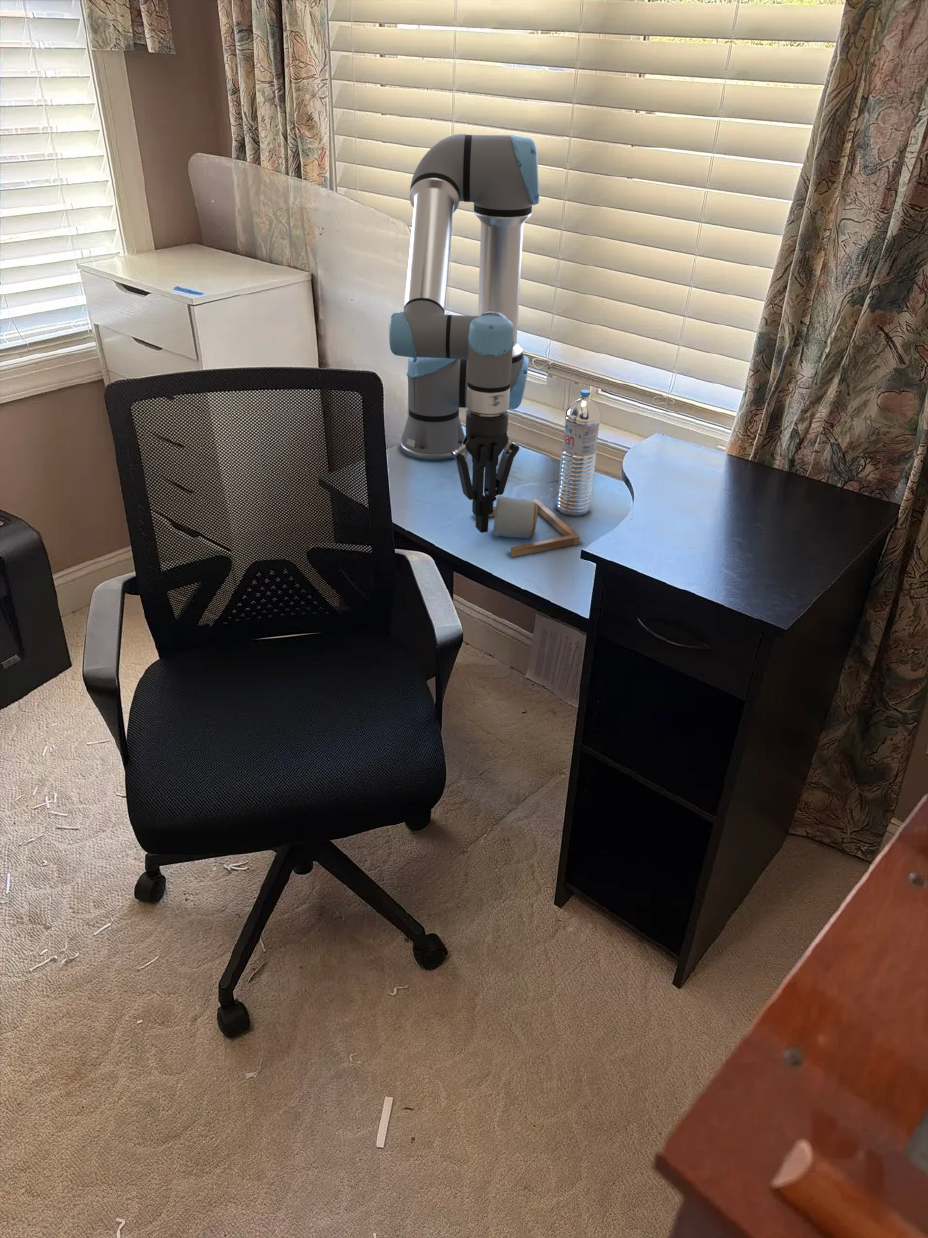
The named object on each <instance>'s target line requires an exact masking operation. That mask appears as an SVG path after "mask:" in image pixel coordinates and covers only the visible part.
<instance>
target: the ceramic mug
mask: <svg viewBox="0 0 928 1238" xmlns="http://www.w3.org/2000/svg"><path fill="white" fill-rule="evenodd" d="M496 498H497V499H496V501H495V502H496V503H495V506H496V510H495V516H494V519H493V520H494V521H493V528H492V529H493V530H492V536H495V537H505V538H519V539H531V538H533V537H534V536H535V534H536V528H537V521H538V514H539V513H538V505H537V504H536V503H535V502H532V501H529V500H530V499H521V498H516V497H515V498H514V497H509V496H503V495H497V496H496Z"/></svg>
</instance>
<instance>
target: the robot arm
mask: <svg viewBox="0 0 928 1238" xmlns="http://www.w3.org/2000/svg"><path fill="white" fill-rule="evenodd" d="M538 161H539V160H538V147H537V143H536V142H535V140H534V139H533V138H531V137H527V136H519V135H514V134H466V133H459V134H458V133H457V134H453V135H450V136H447V137H445V138H443V139H441V140H439V141H438V142H436V143H435V144H434V145H433V146H431V148H430V149H429V150H428V151H427V152H426V153H425V154H424V155H423V157H422V158H421V159H420V161H419V163H418V164H417V166H416V168H415V171H414V172H413V176H412V178H411V183H410V188H409V202H410V205H411V207H412V208H413V212H412V221H411V231H410V241H409V242H410V243H409V250H408V251H409V252H408V259H407V260H408V261H407V271H406V279H405V280H406V281H405V291H404V301H403V311H400V312H393V313H392V314H391V315H390V319H389V324H388V325H389V326H388V341H389V349H390V351H391V353H392V354H393V355H395V356H397V357H398V356H399V357H405V358H408V359H407V372H406V377H407V412H408V414H407V420H406V423H405V426H404V429H403V432H402V435H401V439H400V449H401V451H402V453H404V454H405V455H406V456H408V457H410V458H413V459H415V460H416V459H417V460H421V461H431V462H437V461H439V462H441V461H449V460H452V459H454V460H455V463H456V466H457V471H458V477H459V480H460V486H461V490H462V494H463V495H464V496H465V497H466V498H467V499H468V500H469V501H472V506H471V512H472V514H473V515H474V517H475V516H476V518H475V526H474V527H475V528H476V529H477V530H478V531H479V533H481V534H484V533H489V521H490V520H489V518H490V517H489V514H492V512H493V507H494V502H496V501H497V497H498V496H503V494H504V493H505V489H506V486H507V482H508V479H509V476H510V472H511V469H512V466H513V462H514V459H515V457H516V456H517V454H518V453H519V451H520V446H519V445H518V444H517V443H516V442H515V441H513V440H510V438H509V435H508V433H507V432H508V429H509V414H510V413H509V412H508V411H509V410H516V409H518V408H519V407H520V406H521V404H522V401H523V398H524V393H525V389H526V383H527V377H528V372H529V365H530V359H529V357H528V356H526V355H523V354H524V349H523V347H522V345H521V344H520V343H519V342H518V340H517V339H518V323H519V309H520V308H519V305H520V288H521V271H522V258H523V257H522V256H523V238H524V237H523V236H524V224H525V222H526V221H527V220H528V219H529V218H530V217H531V216H532V213H533V206H537V205H539V204H540V183H539V180H540V179H539V163H538ZM460 202H463V203H473V214H474V215H475V216H476V217H477V218H478V220H479V222H480V237H479V238H480V239H479V272H478V303H477V304H478V305H477V309H478V310H477V315H465V314H464V315H462V314H461V315H459V314H446V303H447V302H446V301H447V290H448V278H449V266H450V255H451V254H450V253H451V242H452V231H453V218H454V213H455V212H456V211H457V209H458V208H459V206H460ZM461 408H465V409H467V410H466V411H465V412H466V413H465V432H464V429H463V426H462V423H461V420H460V409H461ZM467 452H468V454H469V455H470V456H471V462H472V474H470V470H469V465H468V462H467V459H468V454H467ZM500 455H501V457H500ZM499 457H500V460H499ZM471 475H472V476H471ZM471 478H472V480H471Z"/></svg>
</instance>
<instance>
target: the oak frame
mask: <svg viewBox="0 0 928 1238" xmlns="http://www.w3.org/2000/svg"><path fill="white" fill-rule="evenodd" d="M528 500H529V501H532V502H535V503H536V504H537V505H538V513H537V514H538V515H540V516H541V517H542V518H544V519H545V520H546V521H547V523H549V524H550V525H551V526H552V527H553V528H554V529H555V530H557V532H558V533H560V534H561V535H562V536H559V537H554V538H549V539H544V540H539V541H535V542H534V541H533V542H529V543H525V544H519V545H514V546H510V550H509V551H510V552H509V555H510V556H511V557H512V558H516V557H521V556H527V555H531V554H536V553H540V552H546V551H551V550H555V549H560V548H565V547H570V546H574V545H575V546H576V545H579V544H580V535H579V534H577V533H576V532H575V531H574V530H573V529H572V528H571V527H570V526H568V524H566V523H565V522H564V521H563V520H561V519H560V517H558V516H557V515H556V514H555V513H554V512H553V511H551V509H549V508H548V507H547V506H546V505H545V504H544V503H542V501H540V500H539V499H538V498H533V499H528ZM495 510H496V505H495V506H493V512H492V514H489V518H492V517H495ZM474 518H475V519H476V516H475V515H474Z"/></svg>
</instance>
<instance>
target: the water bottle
mask: <svg viewBox="0 0 928 1238" xmlns="http://www.w3.org/2000/svg"><path fill="white" fill-rule="evenodd" d="M579 394H580V395H579V398H578V399H576V400H574V401H573V402H571V403H570V404H569V406H568V407H567V408H566V410H565V415H564V431H563V440H562V443H563V444H562V448H561V454H560V463H559V464H560V465H559V477H558V487H557V497H556V508H557V510H558V511H559V512H560V513H561V514H564V515H566V516H571V517H579V516H583V515H586V514H587V513H588V512H589V511H590V507H591V501H592V493H593V484H594V482H593V481H594V476H595V466H596V460H597V445H598V438H599V437H598V436H599V431H600V429H599V428H600V422H601V420H602V419H601V417H602V412H601V410H600V408H599V407H598V405H597V404H596V403H595V402H594V401H593V400H592V399H591V398H590V396H591V391H590V390H589V389H581V390H580V393H579Z"/></svg>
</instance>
